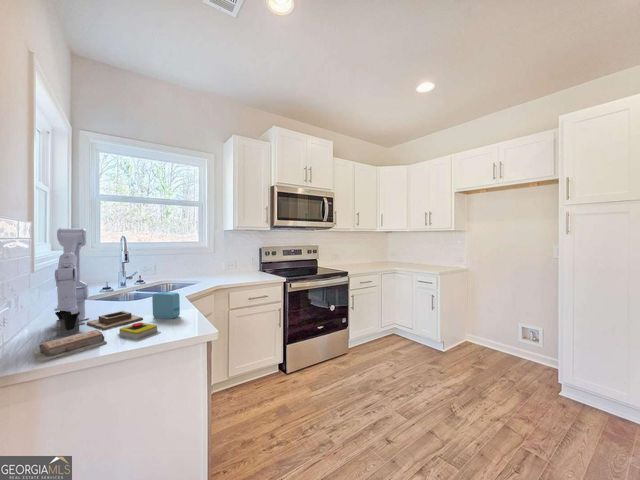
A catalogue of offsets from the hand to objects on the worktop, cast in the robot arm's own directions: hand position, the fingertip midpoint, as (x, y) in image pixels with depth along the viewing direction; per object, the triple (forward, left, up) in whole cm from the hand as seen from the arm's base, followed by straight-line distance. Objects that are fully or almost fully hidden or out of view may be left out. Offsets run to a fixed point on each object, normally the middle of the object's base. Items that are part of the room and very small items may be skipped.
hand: (68, 328), depth 116 cm
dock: (+1, +17, -2) cm, 17 cm away
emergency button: (+27, +14, -3) cm, 31 cm away
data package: (+15, +33, -2) cm, 36 cm away
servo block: (0, 0, -2) cm, 2 cm away
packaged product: (+22, -6, -3) cm, 23 cm away
